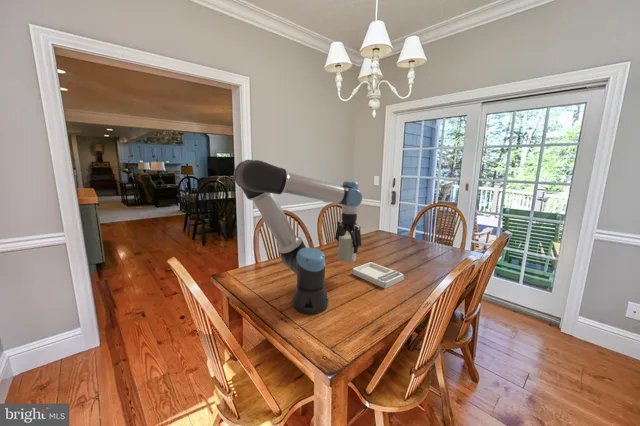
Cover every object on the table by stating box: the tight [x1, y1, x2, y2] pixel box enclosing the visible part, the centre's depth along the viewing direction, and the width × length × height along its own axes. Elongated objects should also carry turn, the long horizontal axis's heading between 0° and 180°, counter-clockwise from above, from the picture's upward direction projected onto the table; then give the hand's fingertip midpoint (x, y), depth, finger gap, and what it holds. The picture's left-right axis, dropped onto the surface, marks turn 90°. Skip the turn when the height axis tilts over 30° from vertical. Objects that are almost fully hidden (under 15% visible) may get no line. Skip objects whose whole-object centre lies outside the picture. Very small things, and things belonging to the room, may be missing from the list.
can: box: [337, 234, 357, 263], centre depth 133 cm, size 9×9×12 cm
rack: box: [351, 261, 405, 290], centre depth 139 cm, size 16×22×4 cm
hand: (346, 256), depth 134 cm, fingers closed on can, 9 cm apart
